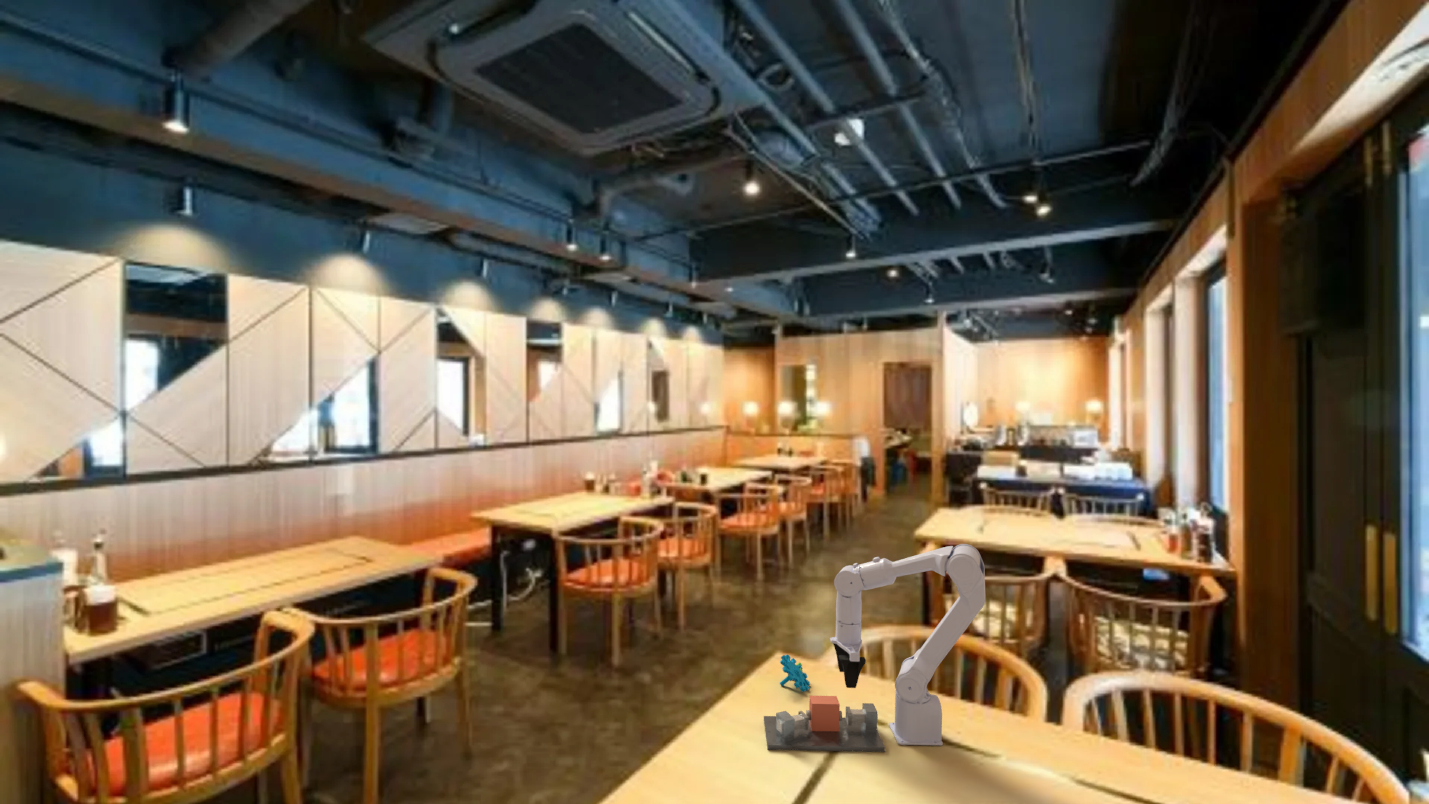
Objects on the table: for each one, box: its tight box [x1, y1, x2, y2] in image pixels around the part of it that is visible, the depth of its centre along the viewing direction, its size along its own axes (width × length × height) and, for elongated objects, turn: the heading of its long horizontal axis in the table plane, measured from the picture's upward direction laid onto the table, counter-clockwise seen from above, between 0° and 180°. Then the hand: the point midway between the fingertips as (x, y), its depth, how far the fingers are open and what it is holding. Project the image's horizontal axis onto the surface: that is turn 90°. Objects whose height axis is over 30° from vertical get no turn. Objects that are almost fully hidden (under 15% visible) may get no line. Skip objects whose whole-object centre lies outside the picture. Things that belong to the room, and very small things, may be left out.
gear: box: [779, 653, 811, 693], centre depth 159 cm, size 11×6×10 cm
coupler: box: [805, 695, 843, 731], centre depth 138 cm, size 8×4×6 cm, turn 90°
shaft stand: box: [763, 702, 886, 753], centre depth 136 cm, size 24×12×6 cm, turn 90°
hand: (847, 679), depth 143 cm, fingers open, 7 cm apart
